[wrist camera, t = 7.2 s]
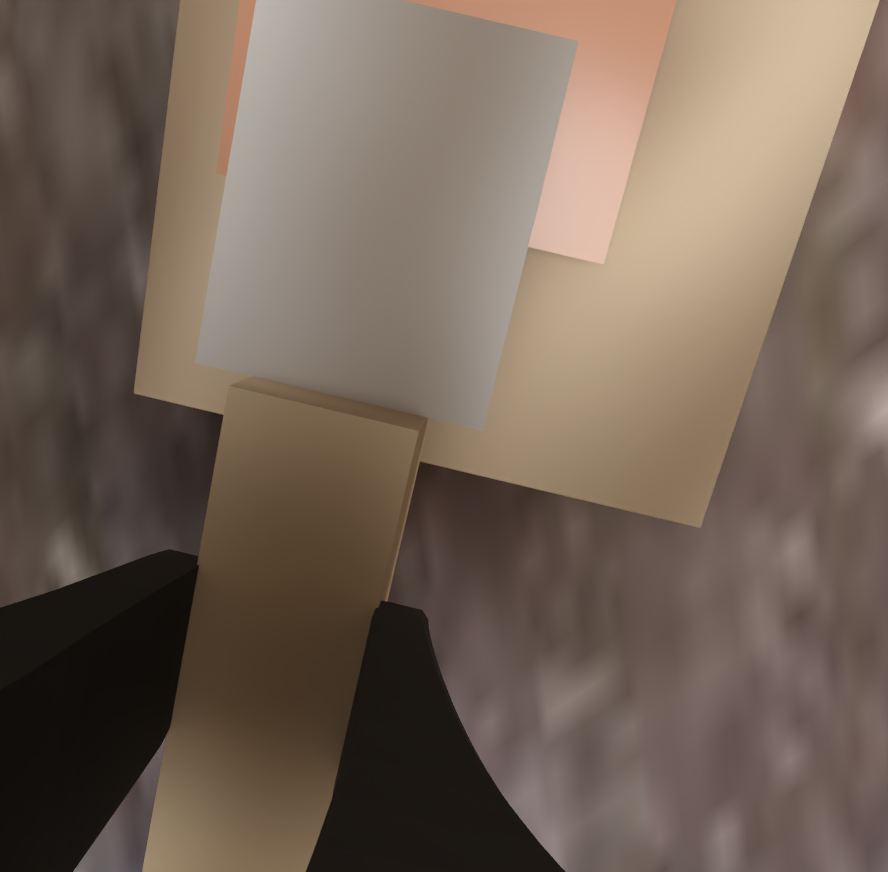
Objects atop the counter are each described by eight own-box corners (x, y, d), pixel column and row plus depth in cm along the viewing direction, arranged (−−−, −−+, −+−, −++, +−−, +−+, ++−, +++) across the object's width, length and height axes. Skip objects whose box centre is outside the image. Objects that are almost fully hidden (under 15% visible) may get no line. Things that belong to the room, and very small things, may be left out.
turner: (153, 832, 15) (68, 972, 12) (299, 18, 12) (236, -67, 9) (367, 885, 15) (336, 1037, 12) (563, 81, 12) (589, 15, 9)
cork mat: (144, 388, 17) (133, 393, 17) (242, -422, 13) (232, -446, 13) (694, 519, 17) (700, 528, 16) (956, -260, 13) (973, -278, 13)
